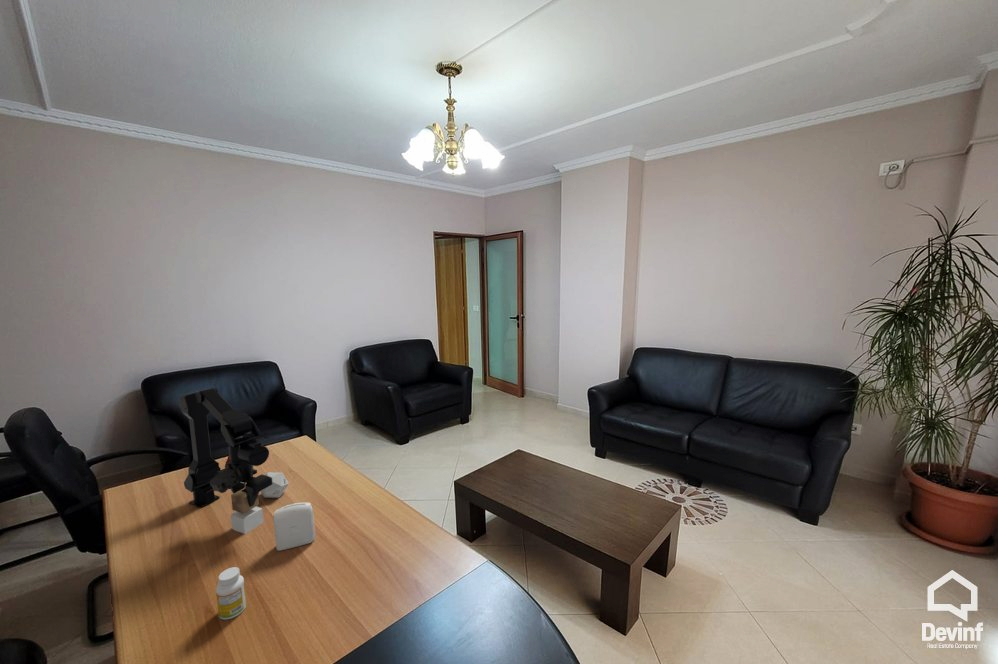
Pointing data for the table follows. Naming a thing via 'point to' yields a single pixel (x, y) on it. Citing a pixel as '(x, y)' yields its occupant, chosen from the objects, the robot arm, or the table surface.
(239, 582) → the supplement bottle
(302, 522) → the photo printer
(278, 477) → the die
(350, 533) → the table surface
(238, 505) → the brown cube
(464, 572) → the table surface
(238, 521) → the grey block
